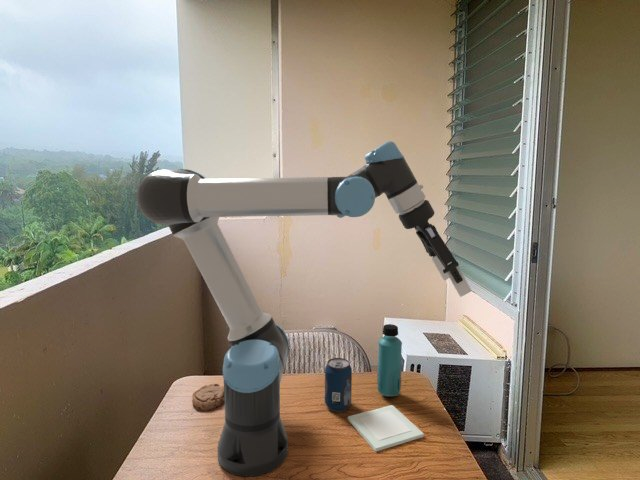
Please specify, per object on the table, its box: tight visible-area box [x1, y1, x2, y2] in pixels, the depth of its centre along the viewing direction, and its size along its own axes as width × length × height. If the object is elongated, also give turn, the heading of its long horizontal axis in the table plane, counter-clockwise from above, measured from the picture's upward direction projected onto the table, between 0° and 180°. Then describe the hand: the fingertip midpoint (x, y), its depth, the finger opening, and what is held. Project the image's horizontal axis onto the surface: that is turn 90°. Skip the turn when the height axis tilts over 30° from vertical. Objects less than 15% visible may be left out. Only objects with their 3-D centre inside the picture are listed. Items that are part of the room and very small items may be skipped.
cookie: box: [192, 383, 224, 412], centre depth 110 cm, size 10×11×3 cm
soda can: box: [324, 357, 353, 413], centre depth 107 cm, size 7×7×12 cm
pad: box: [347, 404, 425, 453], centre depth 99 cm, size 13×13×1 cm
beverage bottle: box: [376, 323, 403, 397], centre depth 112 cm, size 6×7×20 cm
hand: (456, 285), depth 96 cm, fingers open, 13 cm apart
